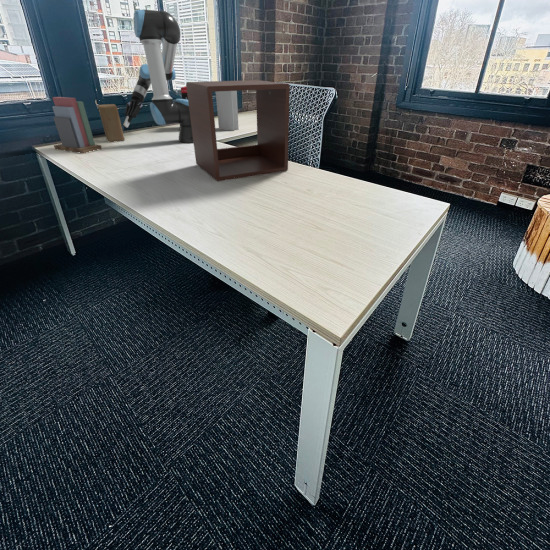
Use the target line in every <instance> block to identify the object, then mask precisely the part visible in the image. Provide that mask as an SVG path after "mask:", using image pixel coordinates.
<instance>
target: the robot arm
mask: <svg viewBox="0 0 550 550" xmlns="http://www.w3.org/2000/svg"><path fill="white" fill-rule="evenodd" d="M180 28H181V27H180V26H179V23H178V21H177V20H176V19H175V16H173V15H172V14H171V13H170V12H168V11H165V10H154V9H153V10H151V9H136V10H135V11H134V12H133V30H134V31H133V32H134V35H135V37H136V38H139V43H141V45H143V48H144V54H145V59H146V63H144V64H141V66H140V68H139V71H138V79H137V81H136V84H135V86H134V88H133V91H132V93H131V100H129V102H128V101H127V102H126V103H125V109H124V116H125V119H124V122H123V124H122V125H123V126H124V127H125V128H129V126H130V124H131V122H132V119H135V118H137V116H138V114H139V113H140V112H141V109H143V108H144V105H143V103H144V101H145V98H146V95H147V94H148V91H149V88H150V86H151V90H152V94H153V95H152V98H151V102H150V103H149V109H150V113H151V116H152V119H153V120H154V122H155V124H157V125H159V126H160V125H163V126H165V125H174V124H179V131H178V141H179V143H186V144H194V142H193V135H192V127H191V119H190V111H189V103H188V100H187V99H182V98H176V99H175V101H173V99H174V98H173V97H171V95H170V92H169V88H168V87H169V86H168V82H169V81H170V82H171V81H174V80H176V78H177V77H176V70H175V67H174V64H175V57H176V52H177V46H178V44H179V43H180V39H181V29H180ZM161 45H162V46H161ZM161 47H162V48H161ZM167 81H168V82H167Z"/></svg>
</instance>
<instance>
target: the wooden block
mask: <svg viewBox="0 0 550 550" xmlns="http://www.w3.org/2000/svg"><path fill="white" fill-rule="evenodd" d="M97 108H98V112H99V116H100V119H101V122H102V123H101V124H102V127H103V131H104V135H105V138H106V140H107V142H108V143H114V141H117V142H125V136H124V135H125V134H124V132H123V131H124V130H123V126H122V123H121V118H120V113H119V110H118V107H117V105H116V104H114V103H110V104H109V103H108V104H99V105H97Z"/></svg>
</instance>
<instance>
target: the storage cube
mask: <svg viewBox="0 0 550 550" xmlns="http://www.w3.org/2000/svg"><path fill="white" fill-rule="evenodd" d="M185 86H186V88H187V95H188V103H189V111H190V119H191V127H192V135H193V142H194V143H193V149H194V156H195V163H196V165H197V166H198V167H199V168H200V169H202V170H203V172H206V174H208V175H209V176H210V177H212V179H214V180H215V181H217V182H222V181H228V180H236V179H242V178H243V179H244V178H249V177H250V178H251V177H255V176H260V175H261V176H263V175H268V174H274V173H275V174H276V173H282V172H287V171H288V170H289V139H290V138H289V136H290V131H289V129H290V128H289V127H290V88H291V86H290V84H289V83H287V82H286V83H285V82H275V81H267V80H260V79H256V80H255V79H251V80H250V79H249V80H218V81H217V80H215V81H213V80H212V81H187V82H186V83H185ZM218 91H237V92H238V91H255V99H256V103H255V104H256V105H255V107H256V132H257V133H256V135H257V136H256V138H257V144H251V145H241V146H234V147H233V146H232V147H224V148H218V143H217V142H218V141H217V133H216V132H217V131H216V130H217V129H216V122H215V121H216V120H215V113H214V112H215V110H214V101H213V92H215V93H216V92H218Z"/></svg>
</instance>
